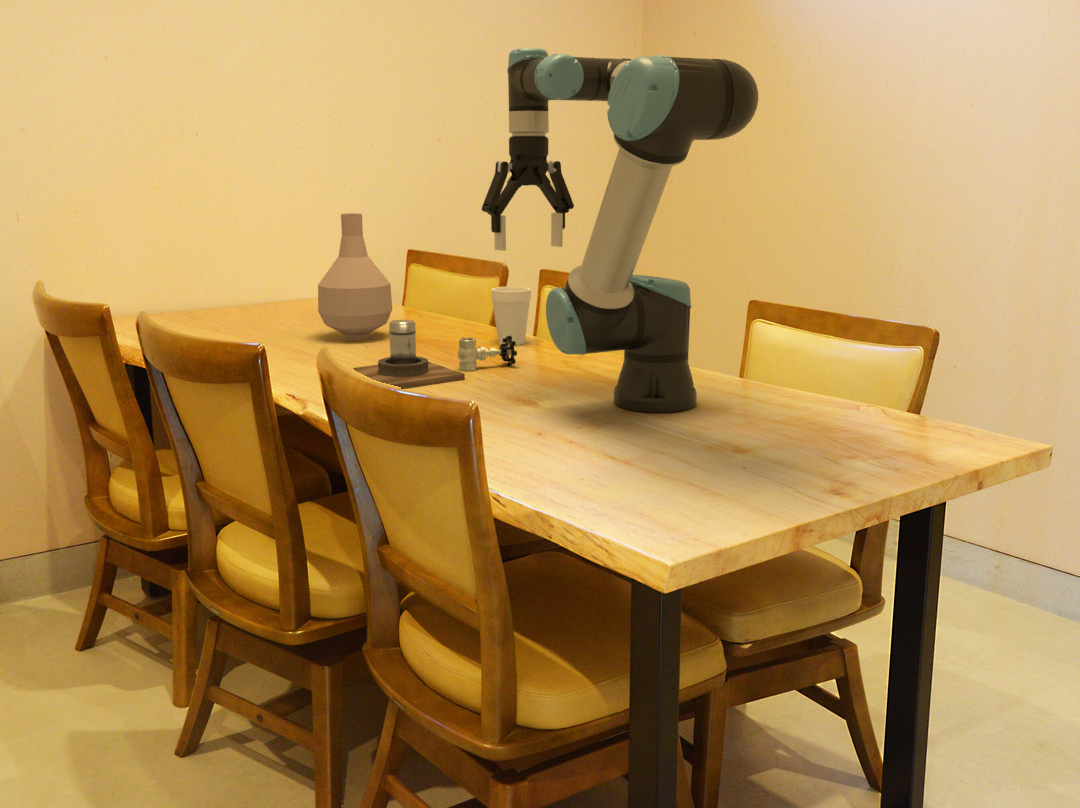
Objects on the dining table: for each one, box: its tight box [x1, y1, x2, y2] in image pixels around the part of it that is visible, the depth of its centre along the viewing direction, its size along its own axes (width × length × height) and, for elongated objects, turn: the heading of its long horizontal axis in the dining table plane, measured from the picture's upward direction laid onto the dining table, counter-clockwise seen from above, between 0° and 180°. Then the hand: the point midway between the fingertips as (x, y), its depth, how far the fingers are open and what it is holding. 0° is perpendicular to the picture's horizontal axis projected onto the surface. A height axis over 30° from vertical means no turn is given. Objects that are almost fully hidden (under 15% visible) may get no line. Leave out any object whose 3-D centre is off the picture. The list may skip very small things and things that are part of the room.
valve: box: [457, 336, 518, 372], centre depth 216 cm, size 7×7×12 cm
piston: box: [388, 319, 417, 365], centre depth 206 cm, size 5×5×10 cm
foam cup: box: [490, 286, 532, 346], centre depth 243 cm, size 10×9×13 cm
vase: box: [317, 212, 393, 341], centre depth 247 cm, size 18×18×30 cm
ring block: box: [352, 355, 466, 389], centre depth 208 cm, size 18×18×3 cm
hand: (529, 248), depth 198 cm, fingers open, 13 cm apart
